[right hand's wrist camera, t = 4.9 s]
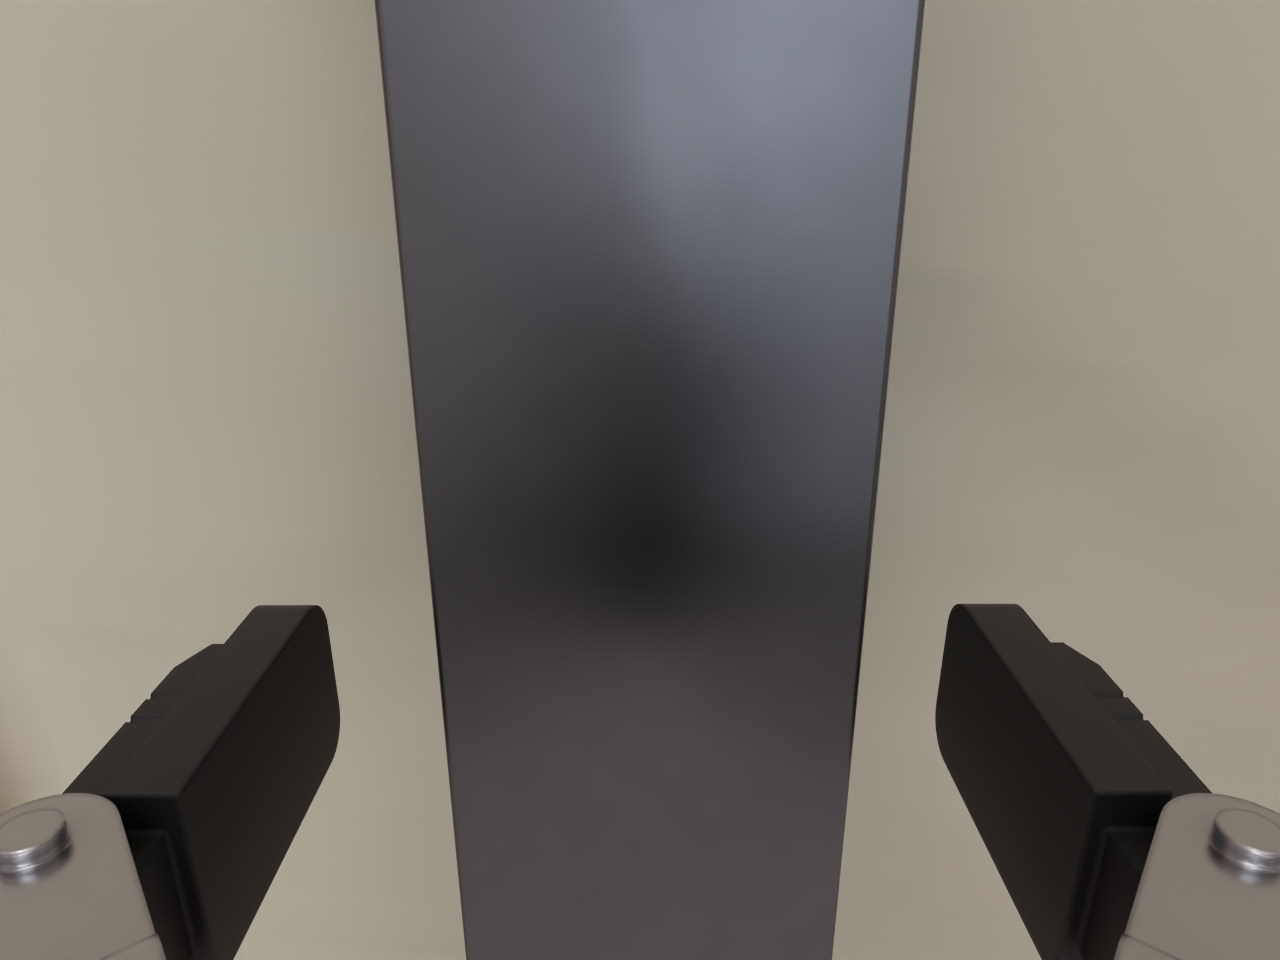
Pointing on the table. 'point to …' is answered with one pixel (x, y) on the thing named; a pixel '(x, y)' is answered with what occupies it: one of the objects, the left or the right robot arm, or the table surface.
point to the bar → (649, 447)
